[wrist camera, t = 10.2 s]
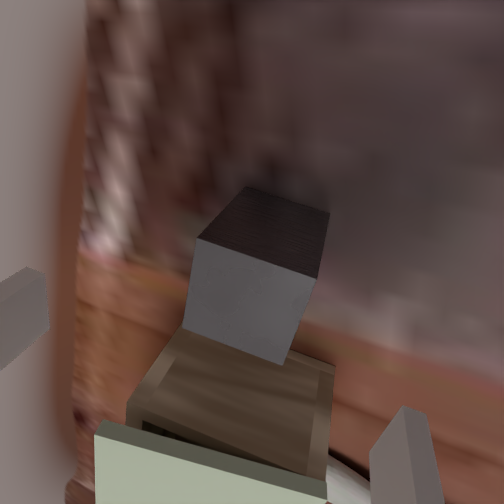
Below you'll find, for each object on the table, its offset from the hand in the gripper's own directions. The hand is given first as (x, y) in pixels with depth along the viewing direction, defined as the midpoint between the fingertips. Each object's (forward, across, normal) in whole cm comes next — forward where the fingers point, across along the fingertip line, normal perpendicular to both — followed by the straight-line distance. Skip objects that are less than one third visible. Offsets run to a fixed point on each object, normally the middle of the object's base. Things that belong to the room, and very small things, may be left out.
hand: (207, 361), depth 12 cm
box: (+10, +1, -17) cm, 20 cm away
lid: (+1, +1, -17) cm, 17 cm away
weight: (+10, 0, 0) cm, 10 cm away
